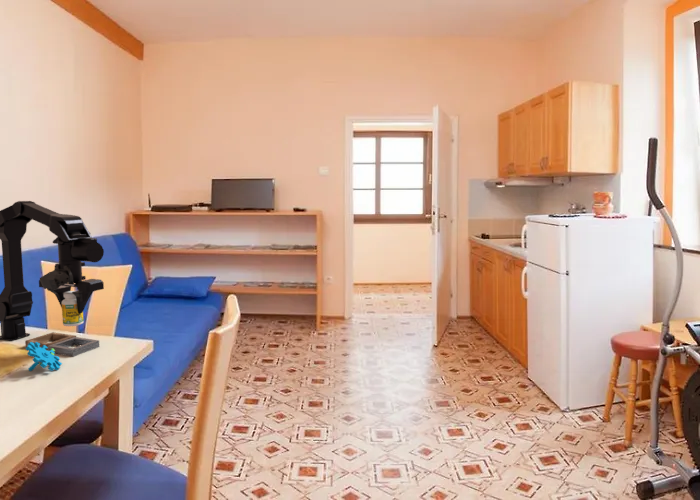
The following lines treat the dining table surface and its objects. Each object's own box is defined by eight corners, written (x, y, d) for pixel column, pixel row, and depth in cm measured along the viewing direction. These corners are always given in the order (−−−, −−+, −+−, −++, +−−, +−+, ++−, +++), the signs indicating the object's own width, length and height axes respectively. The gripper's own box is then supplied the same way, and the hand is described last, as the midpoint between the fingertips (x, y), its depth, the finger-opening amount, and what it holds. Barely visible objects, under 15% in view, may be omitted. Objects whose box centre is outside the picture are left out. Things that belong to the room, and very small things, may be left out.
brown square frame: (25, 347, 147) (25, 340, 147) (53, 338, 156) (53, 332, 156) (49, 351, 145) (49, 344, 144) (76, 341, 153) (76, 335, 153)
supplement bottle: (82, 320, 149) (80, 289, 148) (84, 324, 145) (83, 292, 144) (61, 323, 146) (59, 291, 145) (63, 327, 142) (62, 294, 140)
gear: (52, 370, 126) (22, 343, 125) (34, 387, 125) (4, 360, 124) (70, 361, 137) (43, 336, 136) (54, 377, 136) (26, 352, 135)
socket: (48, 352, 143) (47, 345, 143) (75, 343, 152) (75, 336, 152) (73, 356, 141) (72, 349, 140) (99, 346, 149) (99, 340, 149)
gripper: (19, 261, 138) (23, 315, 140) (71, 266, 132) (74, 322, 134) (54, 256, 149) (57, 306, 151) (104, 260, 143) (106, 313, 145)
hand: (72, 312), depth 145 cm, fingers closed on supplement bottle, 5 cm apart
